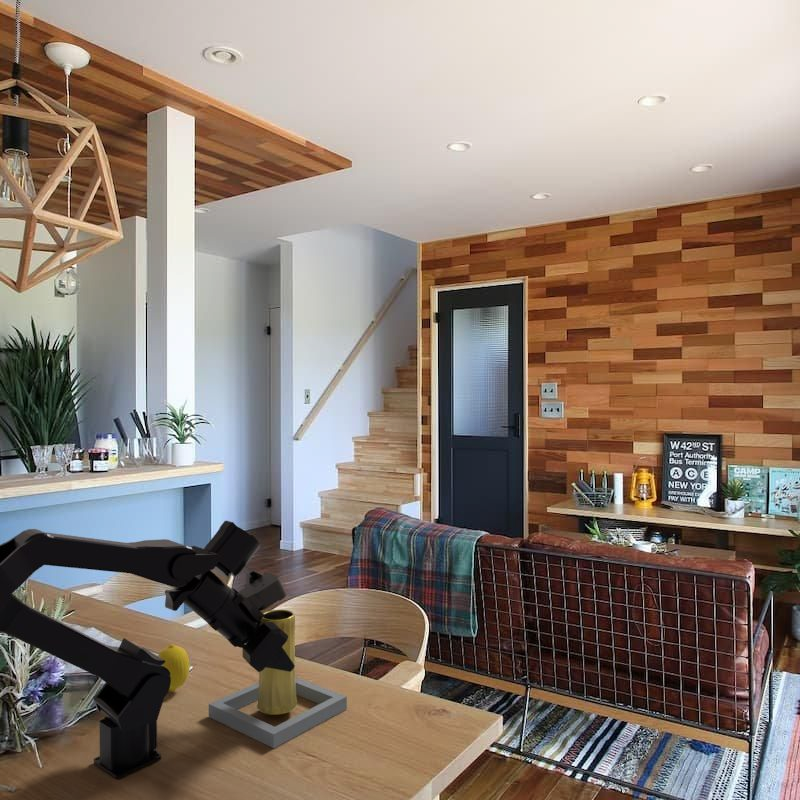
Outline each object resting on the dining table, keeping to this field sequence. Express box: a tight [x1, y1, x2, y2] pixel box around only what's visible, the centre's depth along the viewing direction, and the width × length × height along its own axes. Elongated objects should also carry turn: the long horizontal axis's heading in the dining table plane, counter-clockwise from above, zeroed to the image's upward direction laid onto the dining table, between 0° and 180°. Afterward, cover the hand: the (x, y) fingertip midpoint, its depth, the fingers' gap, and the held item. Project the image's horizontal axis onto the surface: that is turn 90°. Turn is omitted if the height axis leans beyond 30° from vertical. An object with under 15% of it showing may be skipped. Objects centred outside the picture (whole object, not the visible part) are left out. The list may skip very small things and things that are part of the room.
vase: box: [256, 609, 298, 716], centre depth 106 cm, size 6×6×14 cm
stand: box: [208, 676, 348, 749], centre depth 106 cm, size 15×15×2 cm
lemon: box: [157, 643, 191, 693], centre depth 114 cm, size 6×6×8 cm
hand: (285, 662), depth 107 cm, fingers closed on vase, 5 cm apart
